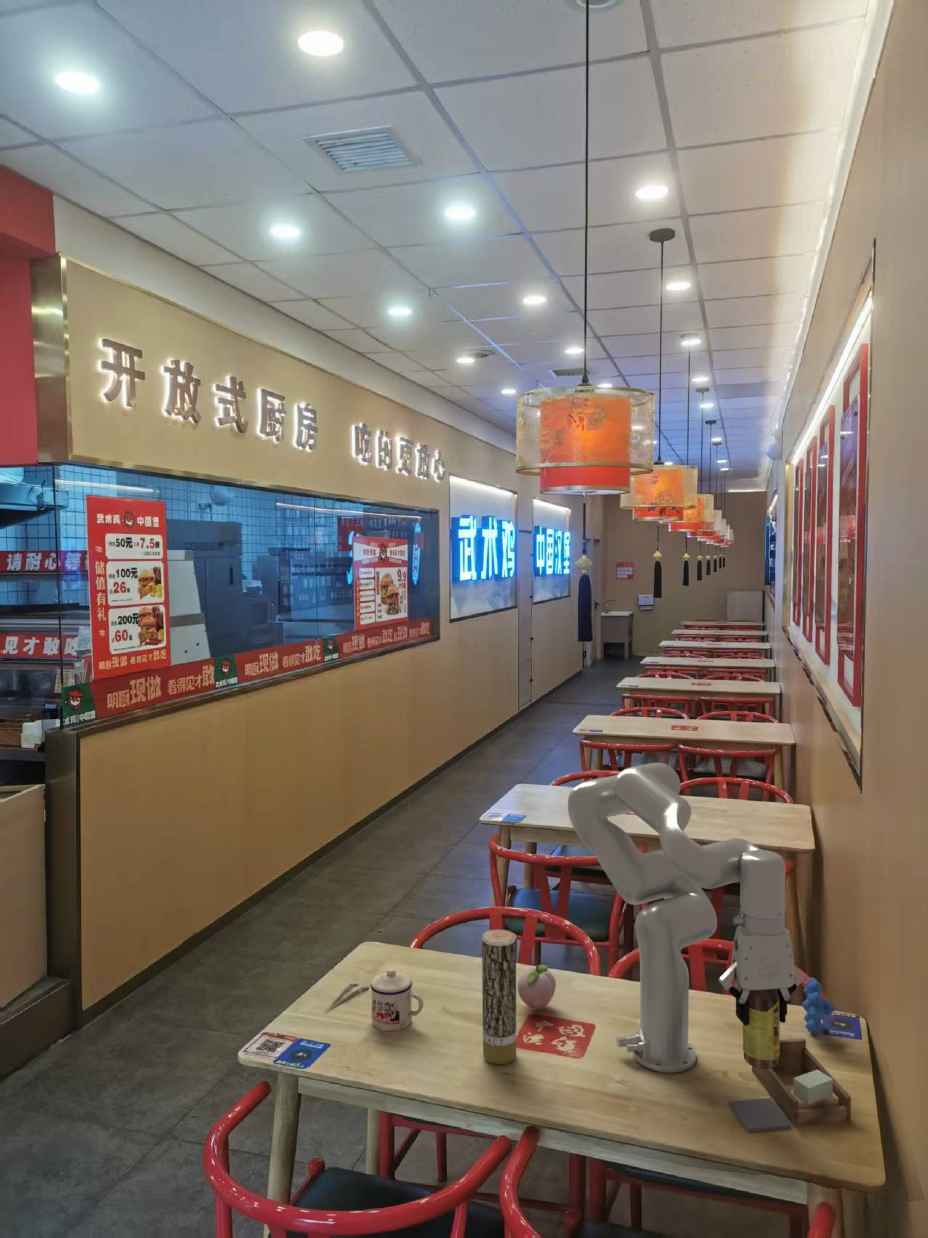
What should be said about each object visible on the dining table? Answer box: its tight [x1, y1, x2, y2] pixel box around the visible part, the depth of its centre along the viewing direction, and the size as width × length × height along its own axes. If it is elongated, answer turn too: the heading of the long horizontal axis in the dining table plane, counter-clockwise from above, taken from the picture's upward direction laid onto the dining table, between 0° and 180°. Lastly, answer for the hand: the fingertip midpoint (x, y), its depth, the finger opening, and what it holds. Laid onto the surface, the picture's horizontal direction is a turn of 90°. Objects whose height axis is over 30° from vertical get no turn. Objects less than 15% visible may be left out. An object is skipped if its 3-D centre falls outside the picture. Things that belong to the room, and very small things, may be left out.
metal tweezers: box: [322, 982, 370, 1015], centre depth 202 cm, size 18×5×2 cm, turn 151°
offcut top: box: [792, 1070, 833, 1104], centre depth 160 cm, size 6×4×3 cm, turn 116°
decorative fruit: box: [517, 964, 557, 1010], centre depth 198 cm, size 9×8×10 cm
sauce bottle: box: [742, 989, 781, 1069], centre depth 158 cm, size 6×6×20 cm
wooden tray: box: [751, 1038, 852, 1127], centre depth 165 cm, size 11×17×6 cm, turn 6°
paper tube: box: [481, 929, 517, 1065], centre depth 178 cm, size 7×7×25 cm
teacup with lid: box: [369, 967, 424, 1032], centre depth 192 cm, size 12×9×12 cm
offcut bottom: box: [790, 1090, 839, 1109], centre depth 160 cm, size 8×4×4 cm, turn 98°
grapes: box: [801, 977, 836, 1036], centre depth 186 cm, size 12×7×12 cm, turn 165°
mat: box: [728, 1097, 792, 1133], centre depth 159 cm, size 8×8×1 cm
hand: (761, 1019), depth 158 cm, fingers closed on sauce bottle, 6 cm apart
